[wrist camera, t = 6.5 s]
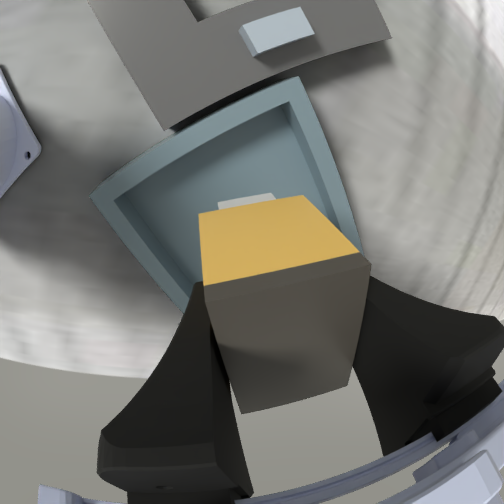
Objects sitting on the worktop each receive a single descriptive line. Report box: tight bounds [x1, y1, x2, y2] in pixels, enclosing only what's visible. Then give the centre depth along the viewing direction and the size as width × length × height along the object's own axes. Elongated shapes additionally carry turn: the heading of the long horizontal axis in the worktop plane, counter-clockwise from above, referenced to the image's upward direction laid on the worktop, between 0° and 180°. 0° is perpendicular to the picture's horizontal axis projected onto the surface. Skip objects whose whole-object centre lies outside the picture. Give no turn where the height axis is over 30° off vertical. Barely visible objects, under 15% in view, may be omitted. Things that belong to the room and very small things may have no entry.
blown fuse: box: [199, 193, 371, 414], centre depth 11 cm, size 4×6×7 cm
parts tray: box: [89, 76, 364, 314], centre depth 17 cm, size 12×12×2 cm
